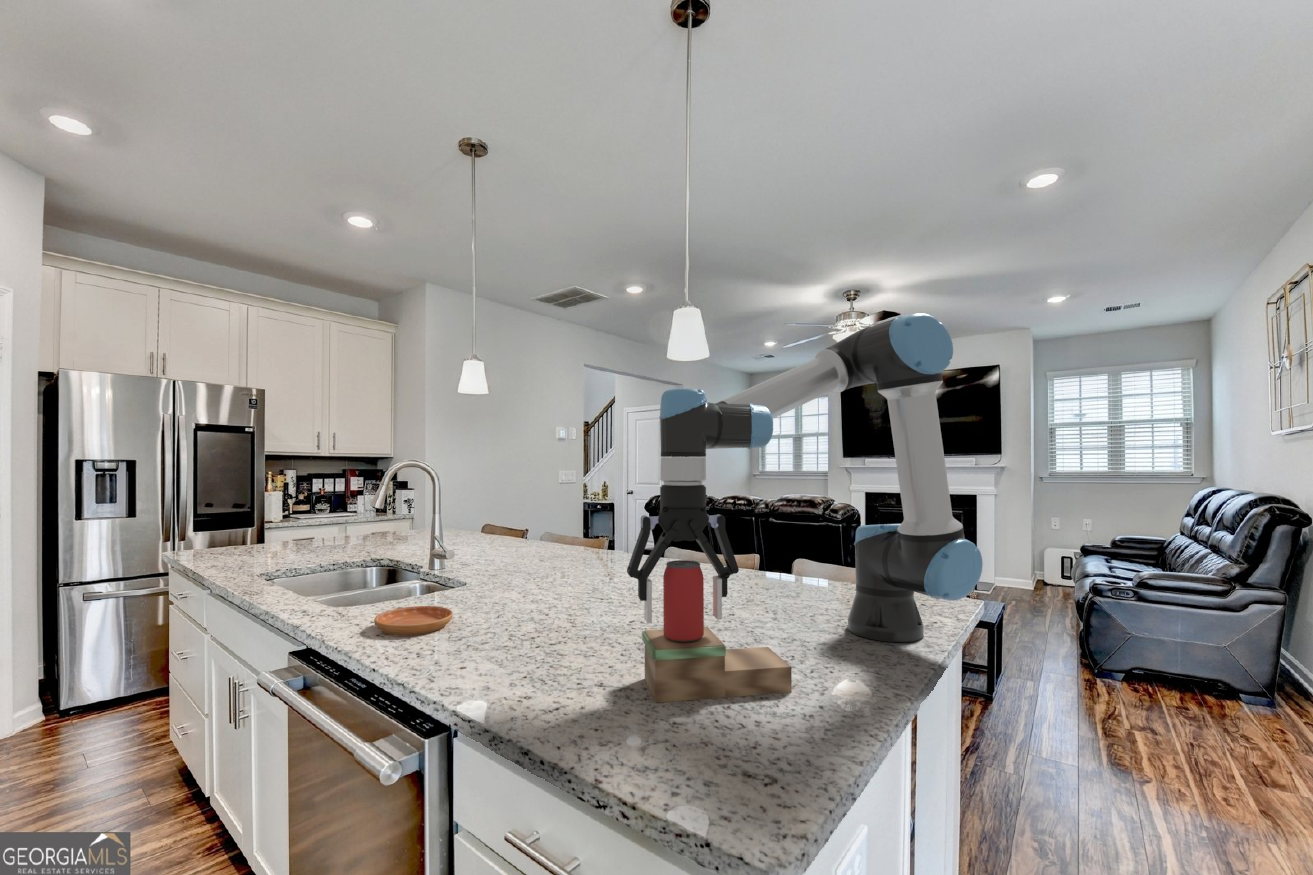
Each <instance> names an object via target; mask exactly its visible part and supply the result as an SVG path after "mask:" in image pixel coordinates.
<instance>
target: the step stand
mask: <svg viewBox="0 0 1313 875" xmlns="http://www.w3.org/2000/svg"><path fill="white" fill-rule="evenodd" d="M641 640H642V642H643V644H644V680H645V682H646V685H647V687H648V689H649V691H650V693H651V696H652V698H653V701H654V702H655V703H669V702H683V701H696V700H707V699H720V698H721V699H723V698H733V697H734V698H735V697H748V696H759V695H772V694H773V695H774V694H775V695H776V694H786V693H787V694H788V693H792V690H793V689H792V688H793V687H792V683H793V682H792V679H793V678H792V666H791V665H790V664H789V663H788V662H787V661H785V659H783V658H782V657H781V656H780V655H779V654H778V653H776V652H775V651H773V650H772V648H770V647H768V646H761V647H745V648H744V647H743V648H728V649H727V647H726V645H725V643H723V642H722V641H721V640H720V639H719V637H717V635H716V634H715V633H714V632H713V631H712V630H711V629H710V628H709V627H708V626H704V635H703V637H702V638H701V639H699V640H697V641H693V642H675V641H671V640H669V639H667V638H666V637H665V636H664V628H663V629H646V630H641Z"/></svg>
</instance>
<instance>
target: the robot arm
mask: <svg viewBox="0 0 1313 875" xmlns="http://www.w3.org/2000/svg"><path fill="white" fill-rule="evenodd" d="M953 355H954V343H953V339H952V337H951V334H950V332H949V331H948V329H947V328H946V326H945V325H944V323H942V322H940V321H939V320H938V319H937V318H936V317H935V316H932V315H930V314H928V313H923V312H922V313H920V312H919V313H912V314H907V315H906V314H904V315H901V316H898V317H896V318H892V319H890V320H887V321H884V322H881V323H878V324H874V325H872V326H867V327H864V328H861V329H859V330H857V331H856V332H854V333H852V334H850V335H848V336H847V337H845V338H843V339H841V340H839V341H837V342H836V343H834V344H832V345H830V346H828V347H826V348H824V349H821V350H820V351H818V352H817V353H816V355H815V357H814V358H813V359H810V360H809V361H807V362H804V363H802V364H800V365H798V366H795V367H793V368H791V369H788V370H786V371H784V372H782V373H780V374H778V375H776V376H773V377H771V378H769V379H767V380H764V381H762V382H760V383H758V384H756V385H755V384H754V385H753V386H751V387H749V388H747V389H745V390H743V391H740V392H738V393H735V394H733V395H731V396H729V397H727V398H724V399H722V400H720V401H718V402H715V403H714V402H709V401H708V399H707V396H706V392H705V390H703V389H696V388H671V389H668V390H666V391H664V392H663V393H661V397H660V408H659V410H660V411H659V430H660V431H659V433H660V434H659V438H660V439H659V440H660V443H659V444H660V464H659V465H660V467H659V468H660V472H659V474H660V475H659V478H660V479H659V480H660V481H661V482H663V484H661V486H660V487H659V488H660V489H659V495H660V497H659V506H660V507H659V513H658V515H657V516H647V515H642V516H641V517H640V530H639V532H638V533H639V534H638V537H637V539H636V543H635V545H634V548H633V551H632V554H631V557H630V560H629V563H628V566H627V568H626V573H627V574H628V576H629V577H630V578H632V579H633V578H634V579H635V580H637V584H638V585H637V596H638V599H639V601H640V602H644V603H643V604H644V610H643V612H644V613H643V614H644V616H643V618H644V620H645V622H646V623H647V624H652V623H653V620H652V619H653V599H652V598H653V581H652V580H651V578H649V576H650V574H652V572H653V571H654V568H655V567H656V565H657V563H658V562H659V561H660V559H661V557H662V556H663V554H664V553H665V550H666V549H667V548H668V546H670V544H671V543H672V541H674V542H682V541H687V542H694V541H696V543H697V544H698V545H699V547H700V548H701V550H702V551H703V553H704V554H705V556H706V557H707V559H708V561H709V562H710V564H711V565H712V567H713V569H714V570H715V572H716V573H717V575H713V576H712V616H713V617H715V619H716V620H723V598H727V597H728V579H729V578H730V576H732V575H734V574H738V573H739V570H740V569H739V566H738V562H737V560H736V557H735V554H734V552H733V548H732V546H731V542H730V540H729V537H728V533H727V531H726V517H725V516H724V515H722V514H719V513H717V514H714V515H709V514H708V513H707V487H706V485H705V484H703V483H704V482H705V481H706V480H707V461H706V460H707V450H713V449H744V448H745V449H750V450H751V449H755V448H756V449H757V448H760V449H761V448H764V447H766V446H768V444H769V443H770V441H771V440H772V436H773V434H774V419H776V418H777V417H780V416H782V415H784V414H786V413H788V412H790V411H792V410H795V409H796V408H798V407H801V406H803V405H805V404H807V403H809V402H811V401H813V400H816V399H818V398H820V397H822V396H824V395H826V394H828V393H830V392H831V393H834V394H839V393H842V392H845V391H846V390H849V389H851V388H855V387H861V386H864V385H870V384H871V385H872V384H876V387H877V392H878V394H880V395H881V396H883V397H884V398H885V399H886V400H887V406H888V414H889V420H890V428H891V435H892V441H893V448H894V449H893V450H894V455H895V456H894V457H895V463H896V471H897V479H898V486H899V492H900V499H901V500H900V501H901V508H902V513H903V521H902V522H901V523H887V524H886V523H884V524H883V523H882V524H868V525H867V524H864V525H860V526H858V527H857V528H856V530H855V541H854V543H853V545H854V556H855V557H854V559H855V562H854V564H855V595H854V598H853V602H852V605H851V607H850V611H849V614H848V617H847V629H848V631H849V632H850V633H851V634H854V635H856V636H858V637H861V638H865V639H870V640H874V641H875V640H876V641H880V642H891V643H894V642H895V643H905V642H906V643H910V642H915V641H919V640H921V639H923V638H924V635H925V634H924V632H925V631H924V629H925V628H924V623H923V620H922V617H921V614H920V611H919V608H918V605H917V602H916V600H915V593H918V594H920V595H925V596H928V597H930V598H932V599H936V600H940V599H941V600H945V601H949V602H950V601H951V602H952V601H954V602H955V601H959V600H962V599H964V598H966V597H968V596H969V595H970V594H971V593H972V592H973V591H974V590H975V588H976V585H978V583H979V582H980V579H981V576H982V573H983V565H984V564H983V562H984V561H983V556H982V553H981V551H980V548H979V547H978V546H976V544H975V543H974V542H972V541H970V540H968V539H966V537H965V533H964V526H963V523H962V522H960V521H959V520H957V519H956V518H955V517H954V516H953V511H952V502H951V496H950V490H949V488H950V487H949V482H948V475H947V474H948V473H947V465H946V461H945V460H946V459H945V453H944V444H943V438H942V431H941V423H940V417H939V415H940V414H939V409H938V408H939V407H938V401H937V395H936V394H937V390H938V389H939V388H940V386H941V385H942V384H943V383H944V380H943V373H942V372H944V370H946V369H947V368H948V367H949V365H950V364H951V360H953ZM657 524H658V525H659V527H660V528H661V529H662V532H661V534H660V536H659V537H658V540H657V541H656V543H655V545H654V546H653V548H652V550H651V551H650V553H649V555H648V556H647V558H646V560H645V561H644V563H643V564H642V566H641V568H640V569H639V567H640V564H641V562H642V559H643V557H644V553H645V550H646V546H647V544H648V541H649V538H650V534H651V531H653V530H654V529H655V527H656V525H657ZM708 524H709V525H710V527H711V528H713V529H714V533H715V536H716V538H717V542H718V544H719V547H720V550H721V553H722V556H723V559H724V562H725V565H726V566H725V565H724V563H723V562H722V561H721V559H720V558H719V556H718V555H717V552H716V551H715V550H714V549H713V547H712V545H711V543H710V542H709V540H708V538H707V536H706V535H705V534H704V532H703V531H704V529H705V528H706V527H707V525H708Z"/></svg>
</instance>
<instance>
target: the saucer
mask: <svg viewBox="0 0 1313 875" xmlns="http://www.w3.org/2000/svg"><path fill="white" fill-rule="evenodd" d="M453 612H454V611H453V610H451V609H450V608H447V607H443V606H438V605H437V606H436V605H435V606H434V605H423V606H422V605H421V606H419V605H417V606H415V605H414V606H407V607H399V608H394V609H391V610H386V611H384V612H380V613H379V614H377V615H376V616H375V617H374V619H373V620H374V625H375V627H376V628H378V629H379V630H380V631H381V632H382V633H384V634H386V635H389V636H398V637H406V636H407V637H408V636H409V637H410V636H418V635H425V634H428V633H429V634H430V633H433V632H437V631H440V630H441V629H443V628H444V627H445V626H446V625H447V624H449V622H450V621H451V620H452V618H453V615H454V614H453Z"/></svg>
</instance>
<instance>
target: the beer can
mask: <svg viewBox="0 0 1313 875" xmlns="http://www.w3.org/2000/svg"><path fill="white" fill-rule="evenodd" d="M703 573H704V572H703V571H702V568H701V563H700V562H699V561H696V560H687V559H686V560H685V559H684V560H669V561H667V562H666V567H665V569H664V572H663V578H662V579H663V582H662V583H663V585H662V586H663V587H662V588H663V589H662V591H663V600H662V601H663V629H664V636H665V637H666V638H667V639H669V640H671V641H675V642H693V641H697V640H699V639H701V638H702V637H703V635H704V627H705V625H704V624H705V622H704V621H705V620H704V618H705V617H704V616H705V612H704V608H705V606H704V604H705V603H704V602H705V601H704V598H705V597H704V596H705V595H704V594H705V593H704V592H705V591H704V585H705V584H704V582H705V581H704V574H703Z"/></svg>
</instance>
